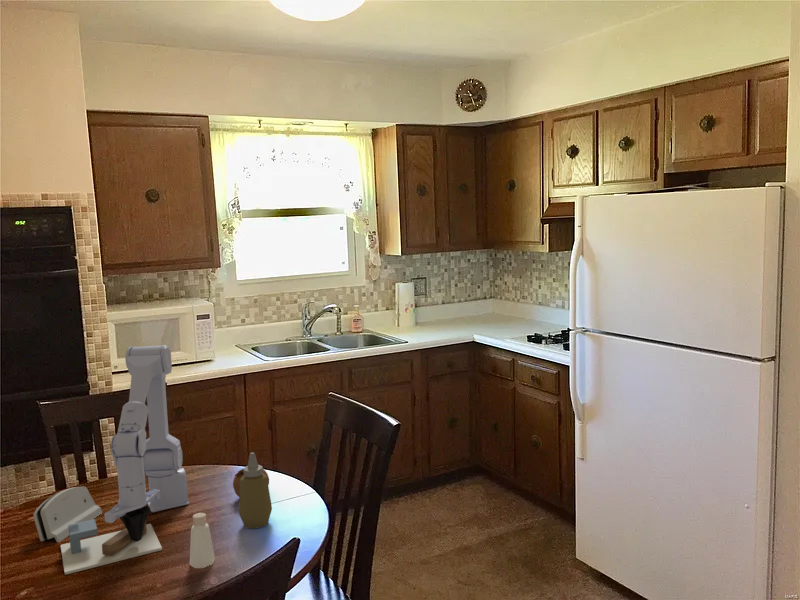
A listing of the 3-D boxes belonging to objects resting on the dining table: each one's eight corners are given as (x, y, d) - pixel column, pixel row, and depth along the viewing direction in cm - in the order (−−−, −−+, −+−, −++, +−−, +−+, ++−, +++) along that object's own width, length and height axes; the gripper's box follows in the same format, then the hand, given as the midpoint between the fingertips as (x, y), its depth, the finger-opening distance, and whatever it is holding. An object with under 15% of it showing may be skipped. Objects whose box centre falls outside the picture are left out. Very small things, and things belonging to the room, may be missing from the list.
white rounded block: (57, 543, 159) (41, 504, 158) (42, 547, 160) (26, 509, 159) (103, 512, 175) (89, 477, 174) (89, 517, 176) (75, 482, 176)
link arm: (136, 528, 163) (135, 516, 162) (149, 530, 162) (148, 517, 161) (100, 554, 150) (99, 540, 150) (114, 555, 149) (112, 542, 149)
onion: (243, 514, 178) (226, 487, 174) (242, 491, 187) (226, 465, 182) (276, 499, 179) (260, 472, 175) (273, 477, 188) (258, 451, 183)
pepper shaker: (191, 571, 144) (187, 522, 142) (188, 559, 149) (184, 512, 147) (216, 565, 146) (213, 517, 145) (213, 554, 151) (210, 507, 150)
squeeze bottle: (279, 522, 166) (275, 452, 164) (251, 534, 160) (247, 461, 158) (260, 513, 171) (256, 445, 169) (232, 524, 165) (228, 454, 163)
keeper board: (150, 525, 166) (149, 504, 166) (162, 549, 154) (160, 526, 153) (60, 547, 156) (58, 524, 156) (64, 574, 144) (62, 550, 143)
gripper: (143, 469, 161) (147, 523, 163) (92, 492, 148) (97, 550, 150) (165, 473, 158) (169, 528, 160) (115, 497, 145) (120, 556, 147)
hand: (136, 539), depth 155 cm, fingers closed
